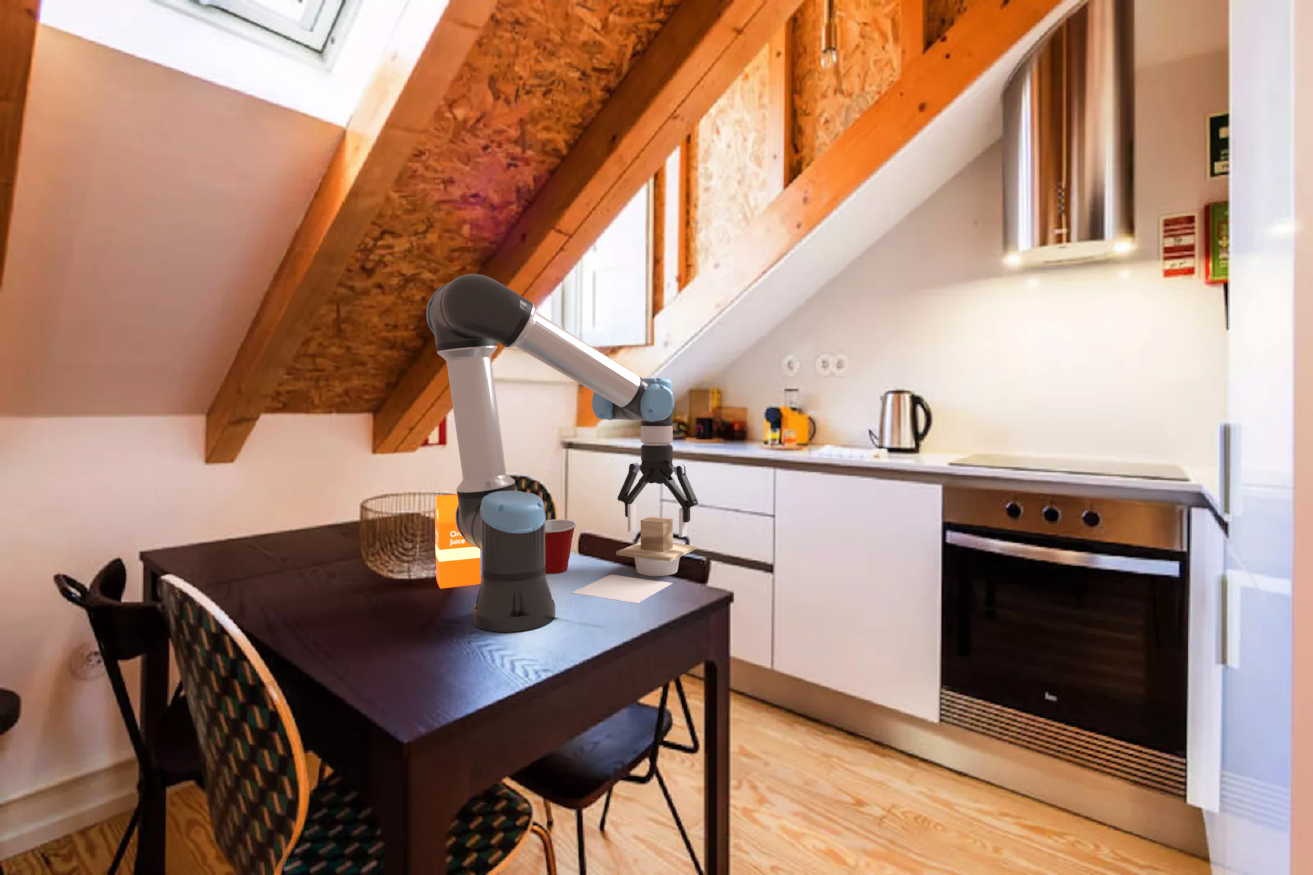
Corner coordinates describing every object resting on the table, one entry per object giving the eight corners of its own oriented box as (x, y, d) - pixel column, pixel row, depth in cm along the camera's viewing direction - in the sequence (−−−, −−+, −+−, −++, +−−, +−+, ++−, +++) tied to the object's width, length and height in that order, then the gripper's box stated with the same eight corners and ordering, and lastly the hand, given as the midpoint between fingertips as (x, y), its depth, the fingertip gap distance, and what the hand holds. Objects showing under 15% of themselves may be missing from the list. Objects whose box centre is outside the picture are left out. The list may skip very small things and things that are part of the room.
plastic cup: (521, 575, 153) (520, 524, 152) (550, 565, 162) (549, 517, 162) (558, 581, 148) (557, 529, 147) (586, 570, 157) (585, 521, 156)
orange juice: (480, 584, 146) (479, 495, 145) (439, 588, 142) (437, 498, 141) (475, 575, 153) (473, 491, 152) (435, 579, 149) (433, 493, 148)
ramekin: (685, 569, 159) (685, 548, 158) (675, 581, 148) (674, 558, 148) (641, 566, 161) (640, 545, 161) (627, 578, 151) (627, 556, 150)
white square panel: (637, 606, 130) (637, 603, 130) (571, 595, 137) (571, 592, 137) (672, 585, 144) (672, 583, 144) (610, 577, 151) (610, 574, 151)
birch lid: (670, 561, 145) (670, 526, 145) (616, 555, 151) (616, 521, 151) (695, 549, 157) (695, 517, 157) (645, 543, 164) (645, 512, 163)
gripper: (712, 444, 150) (711, 535, 152) (619, 441, 162) (619, 526, 163) (698, 446, 144) (698, 541, 145) (603, 443, 155) (603, 531, 156)
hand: (656, 533), depth 154 cm, fingers open, 13 cm apart
